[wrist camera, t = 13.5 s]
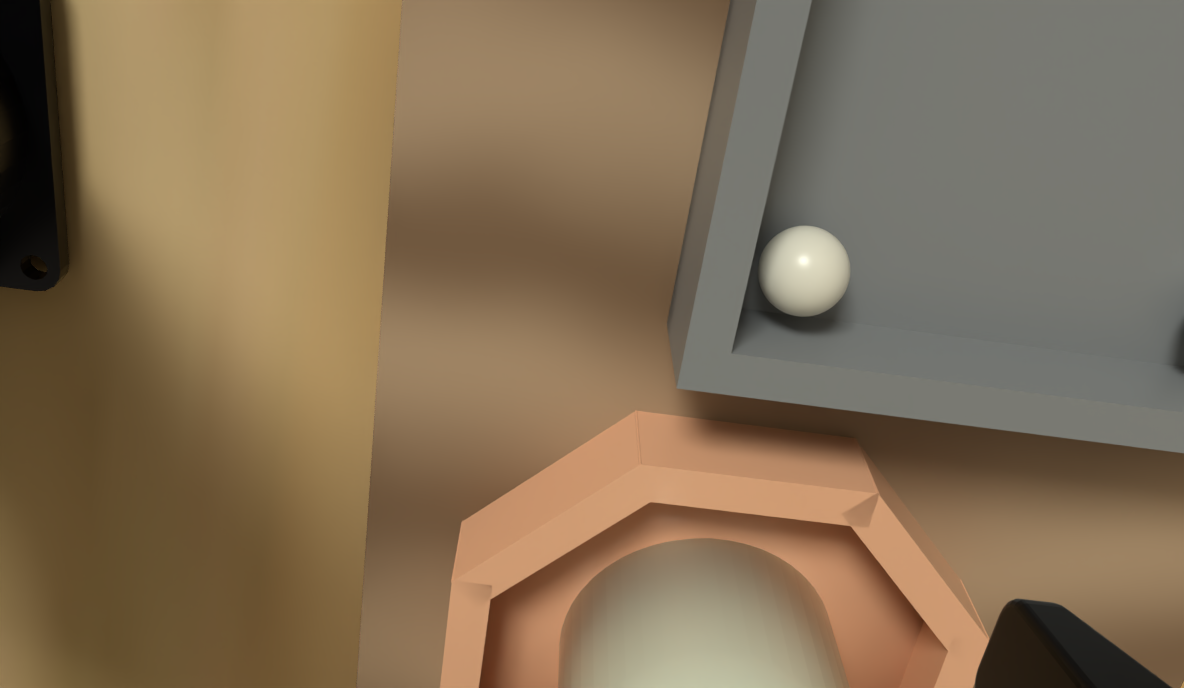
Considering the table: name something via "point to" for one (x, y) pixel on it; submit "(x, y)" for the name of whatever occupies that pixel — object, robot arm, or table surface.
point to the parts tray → (944, 215)
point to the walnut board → (653, 334)
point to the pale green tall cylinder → (699, 623)
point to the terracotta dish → (718, 511)
